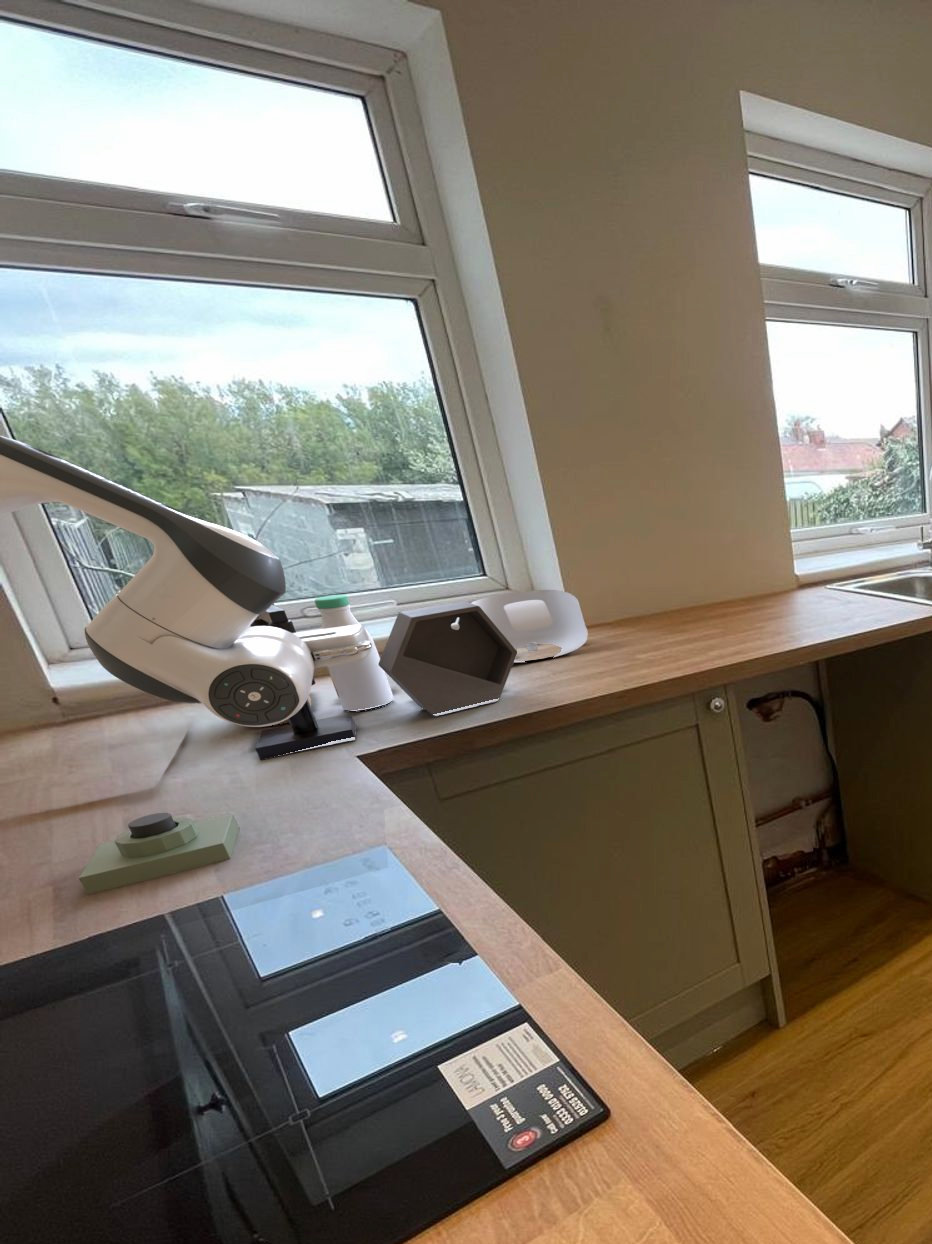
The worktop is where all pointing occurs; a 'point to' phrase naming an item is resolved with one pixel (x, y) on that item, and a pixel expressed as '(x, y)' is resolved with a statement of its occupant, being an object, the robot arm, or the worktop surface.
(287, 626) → the spout
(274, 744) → the base
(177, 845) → the control block
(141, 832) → the button
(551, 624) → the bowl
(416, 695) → the planter
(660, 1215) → the worktop surface
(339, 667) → the milk bottle
